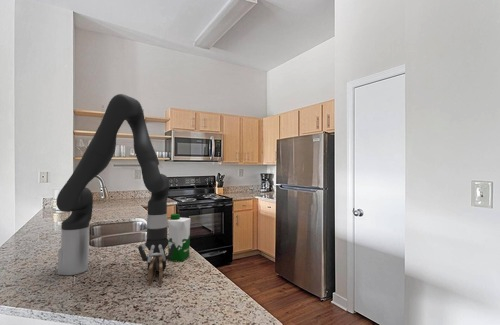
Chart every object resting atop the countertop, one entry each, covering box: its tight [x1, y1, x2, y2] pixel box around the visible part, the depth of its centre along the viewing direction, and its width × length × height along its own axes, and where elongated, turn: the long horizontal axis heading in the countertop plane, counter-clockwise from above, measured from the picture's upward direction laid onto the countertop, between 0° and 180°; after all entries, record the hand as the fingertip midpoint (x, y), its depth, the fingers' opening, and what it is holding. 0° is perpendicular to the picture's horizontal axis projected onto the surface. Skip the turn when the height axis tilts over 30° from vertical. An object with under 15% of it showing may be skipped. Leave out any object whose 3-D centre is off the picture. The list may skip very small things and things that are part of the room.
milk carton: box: [167, 213, 191, 263], centre depth 118 cm, size 9×9×20 cm
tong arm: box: [155, 256, 163, 285], centre depth 98 cm, size 16×3×6 cm, turn 20°
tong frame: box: [147, 253, 161, 287], centre depth 99 cm, size 20×4×7 cm, turn 14°
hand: (157, 270), depth 98 cm, fingers open, 4 cm apart
